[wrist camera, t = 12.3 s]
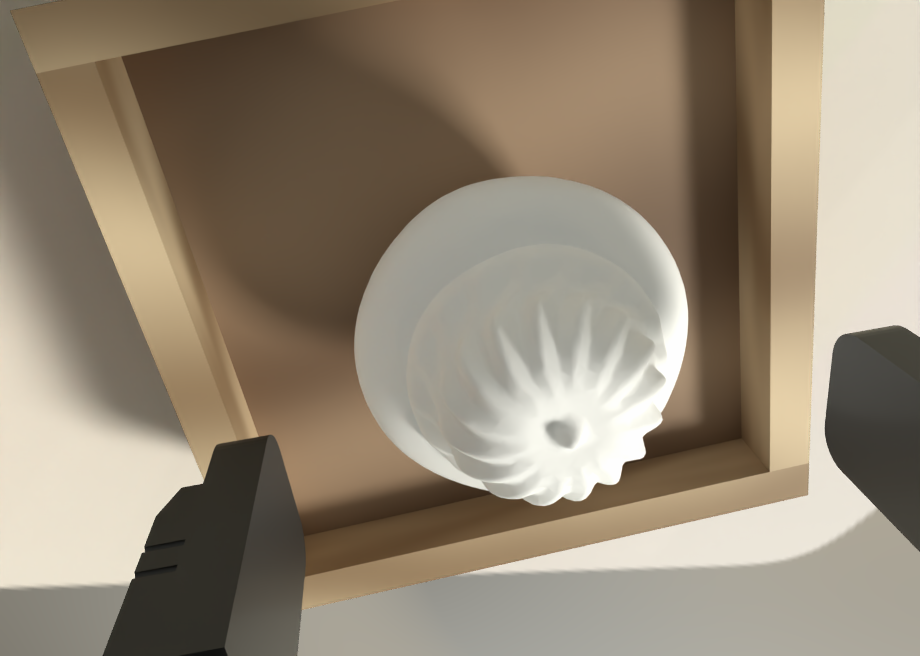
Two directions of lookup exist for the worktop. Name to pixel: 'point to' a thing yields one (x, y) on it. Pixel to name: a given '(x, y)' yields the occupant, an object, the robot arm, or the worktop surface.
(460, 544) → the wooden tray
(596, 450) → the white ribbed cup
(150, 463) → the worktop surface
